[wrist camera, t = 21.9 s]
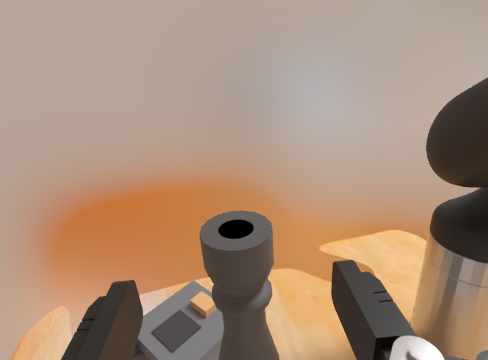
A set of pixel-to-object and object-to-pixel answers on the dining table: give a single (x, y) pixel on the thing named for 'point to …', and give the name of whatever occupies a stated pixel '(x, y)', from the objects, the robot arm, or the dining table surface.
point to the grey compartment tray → (182, 327)
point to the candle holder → (241, 281)
